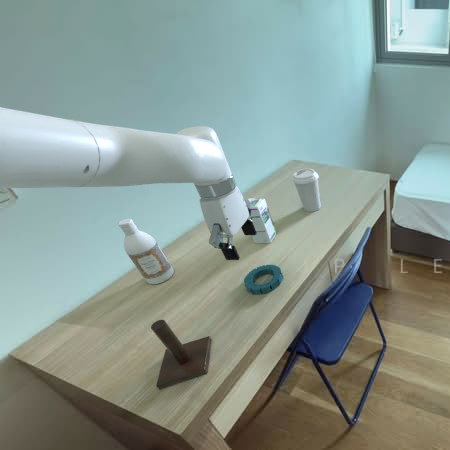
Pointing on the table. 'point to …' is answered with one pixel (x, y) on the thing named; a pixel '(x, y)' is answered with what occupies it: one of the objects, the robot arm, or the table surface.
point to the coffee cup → (307, 189)
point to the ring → (266, 286)
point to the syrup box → (262, 221)
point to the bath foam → (145, 253)
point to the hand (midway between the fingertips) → (242, 246)
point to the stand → (180, 356)
